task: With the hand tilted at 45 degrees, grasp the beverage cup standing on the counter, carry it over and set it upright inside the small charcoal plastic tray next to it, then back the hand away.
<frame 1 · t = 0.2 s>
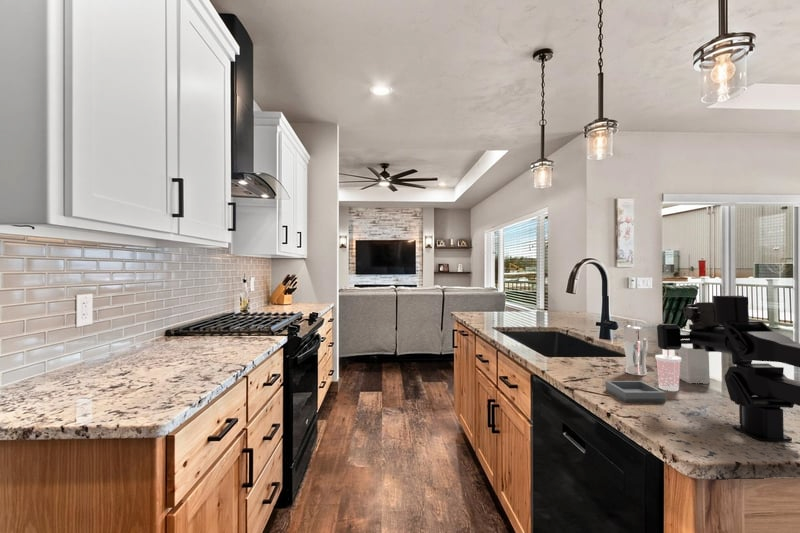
hand: (675, 332, 103), 17 cm above the countertop, tool horizontal, fingers open, 9 cm apart
beverage cup: (668, 389, 108), on the countertop
beer glass: (636, 373, 124), on the countertop
small box: (691, 381, 115), on the countertop
tray: (634, 395, 102), on the countertop
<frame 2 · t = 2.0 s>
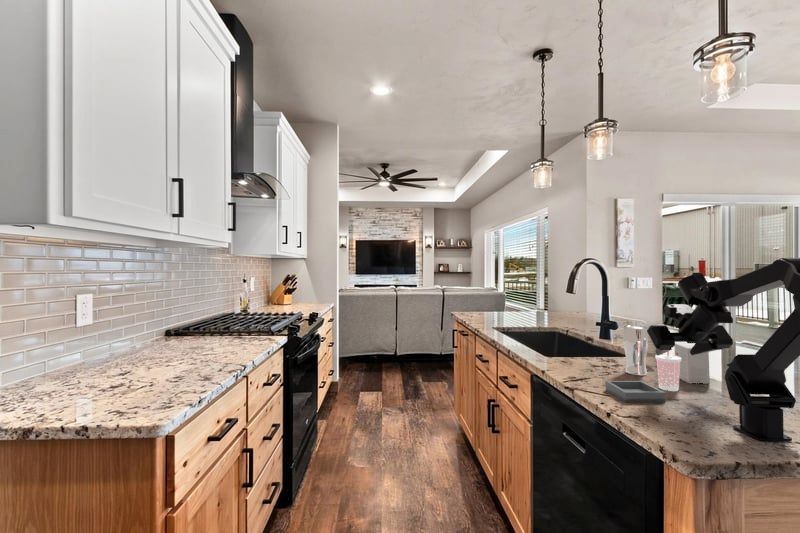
hand: (674, 353, 106), 10 cm above the countertop, tool tilted 45°, fingers open, 9 cm apart
nothing on the countertop moved.
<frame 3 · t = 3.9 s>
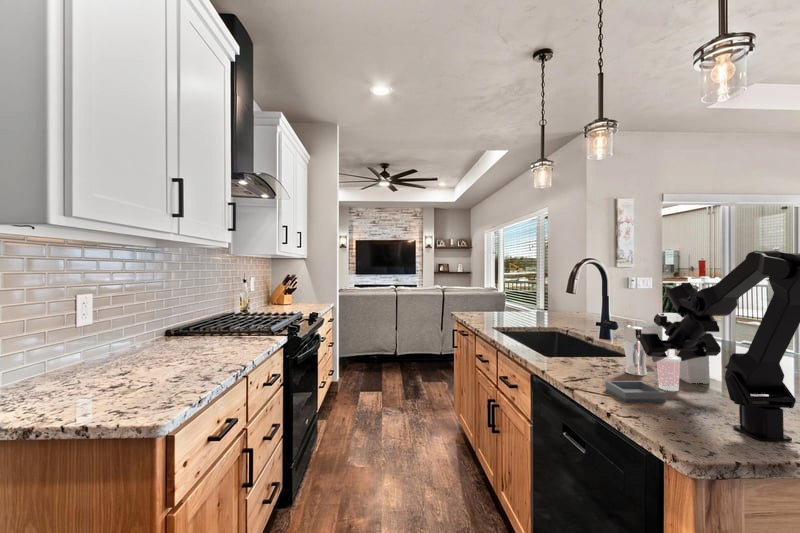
hand: (665, 360, 109), 8 cm above the countertop, tool tilted 45°, fingers closed on beverage cup, 6 cm apart
beverage cup: (668, 389, 108), on the countertop, touching gripper
everything else where it was.
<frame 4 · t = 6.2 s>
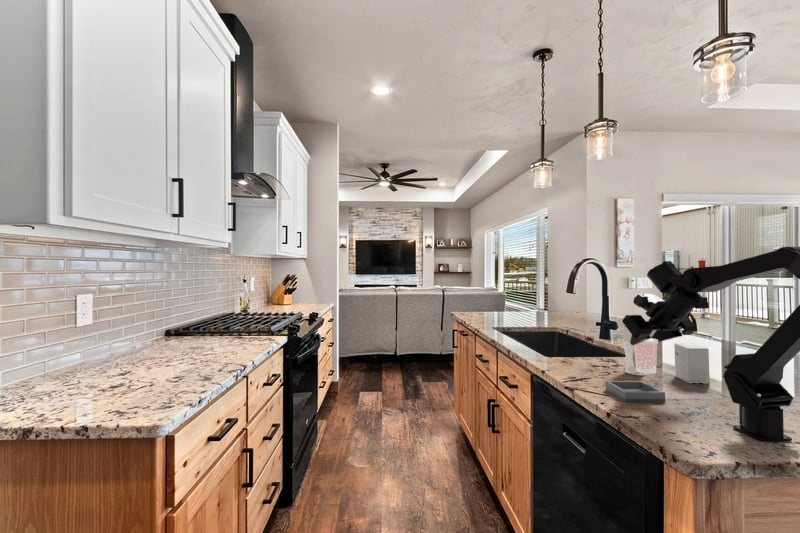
hand: (641, 343, 107), 13 cm above the countertop, tool tilted 45°, fingers closed on beverage cup, 6 cm apart
beverage cup: (646, 372, 105), point 5 cm above the countertop, touching gripper
everything else where it was.
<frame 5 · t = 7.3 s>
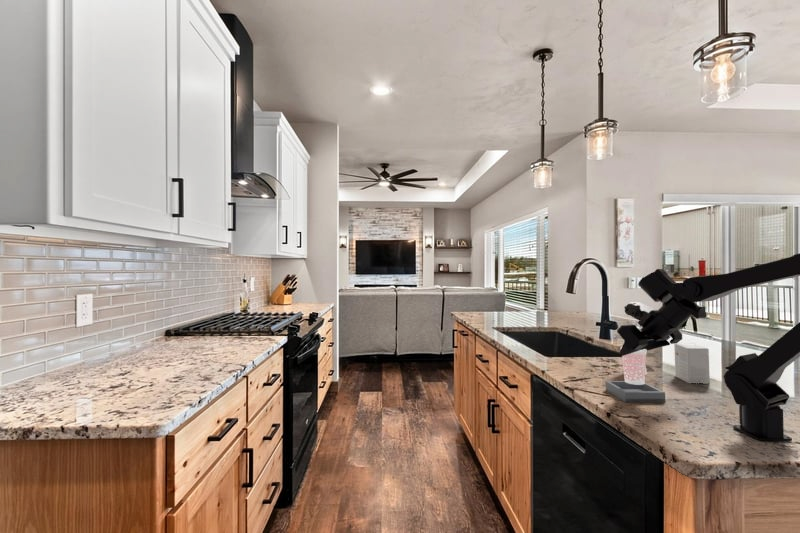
hand: (628, 353, 104), 11 cm above the countertop, tool tilted 45°, fingers closed on beverage cup, 6 cm apart
beverage cup: (634, 383, 102), point 3 cm above the countertop, touching gripper
everything else where it was.
when the fingers open (10 cm above the countertop, at t = 8.5 s): beverage cup drops 1 cm, resting on tray.
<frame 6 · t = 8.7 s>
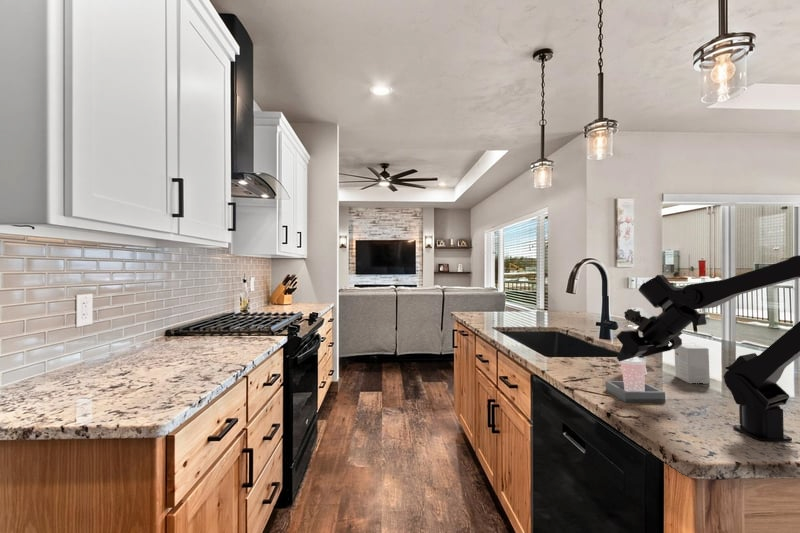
hand: (628, 358, 104), 10 cm above the countertop, tool tilted 45°, fingers open, 8 cm apart
beverage cup: (634, 393, 102), point 1 cm above the countertop, touching tray
everything else where it was.
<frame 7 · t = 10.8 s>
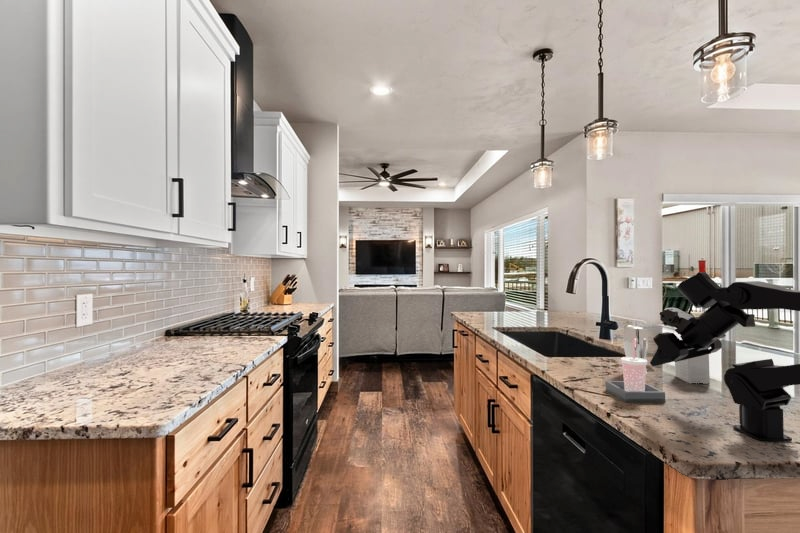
hand: (662, 362, 96), 11 cm above the countertop, tool tilted 45°, fingers open, 9 cm apart
nothing on the countertop moved.
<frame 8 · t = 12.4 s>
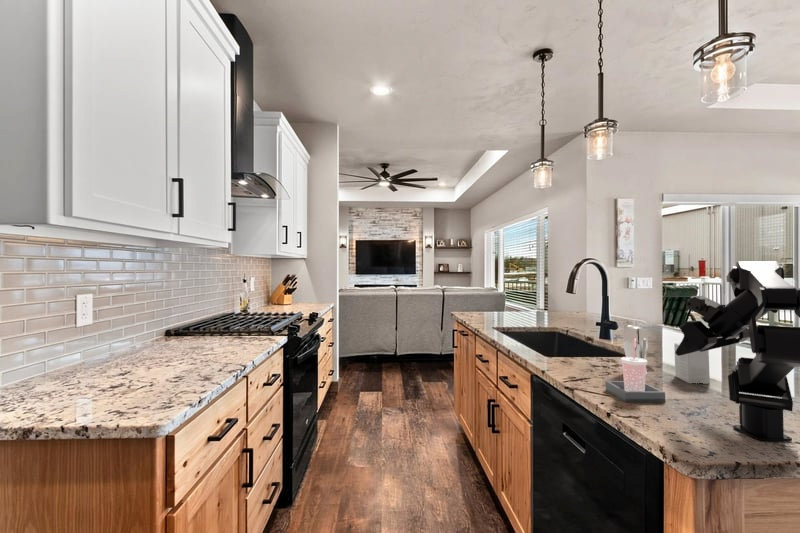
hand: (688, 352, 93), 14 cm above the countertop, tool tilted 45°, fingers open, 9 cm apart
nothing on the countertop moved.
at the end: beverage cup 0.1 cm off-centre on the tray, point 0.6 cm above the tray's base; beverage cup tilted 0°; the gripper is holding nothing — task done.
